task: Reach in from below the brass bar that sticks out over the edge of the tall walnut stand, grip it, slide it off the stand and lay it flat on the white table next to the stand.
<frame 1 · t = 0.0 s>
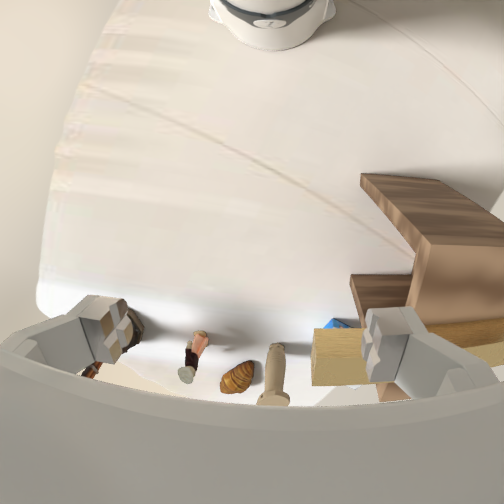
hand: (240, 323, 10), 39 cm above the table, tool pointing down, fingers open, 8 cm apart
walnut stand: (394, 233, 48), on the table
handle: (276, 346, 62), on the table
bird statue: (119, 313, 63), on the table
brass bar: (426, 338, 25), point 26 cm above the table, touching walnut stand
croissant: (237, 373, 67), on the table
grandmother figurine: (201, 335, 62), on the table
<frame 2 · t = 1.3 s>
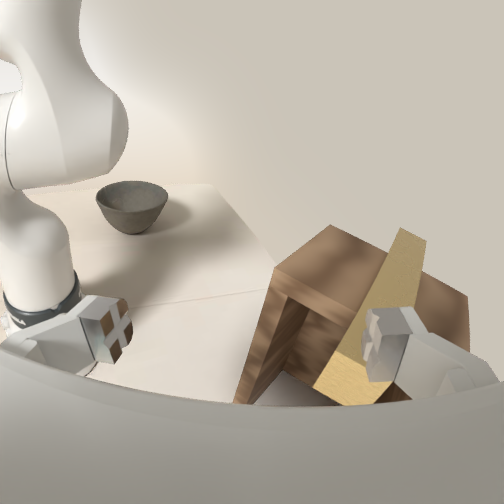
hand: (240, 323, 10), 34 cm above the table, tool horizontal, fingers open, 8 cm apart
walnut stand: (309, 414, 42), on the table
brass bar: (382, 308, 25), point 26 cm above the table, touching walnut stand
bowl: (130, 229, 76), on the table
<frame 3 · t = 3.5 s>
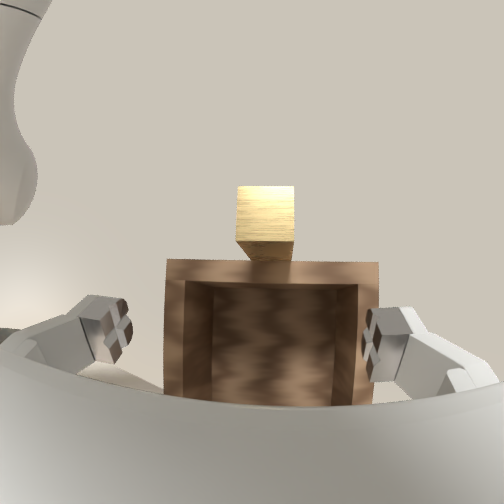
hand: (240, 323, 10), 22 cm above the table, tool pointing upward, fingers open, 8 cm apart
walnut stand: (265, 473, 30), on the table
brass bar: (272, 264, 30), point 26 cm above the table, touching walnut stand
bowl: (15, 374, 51), on the table
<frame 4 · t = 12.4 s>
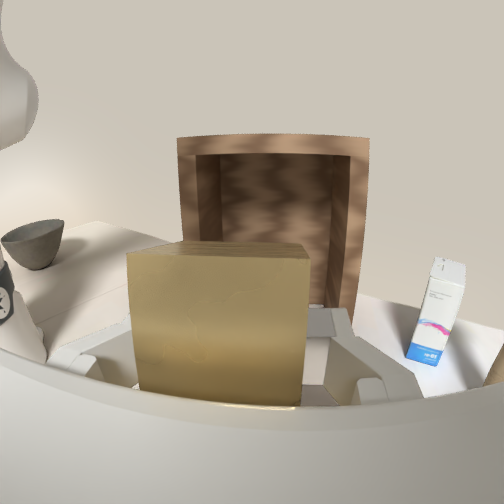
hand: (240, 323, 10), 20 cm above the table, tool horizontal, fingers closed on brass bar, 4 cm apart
walnut stand: (273, 319, 45), on the table
handle: (484, 407, 23), on the table
ink box: (426, 347, 36), on the table
bowl: (39, 267, 64), on the table
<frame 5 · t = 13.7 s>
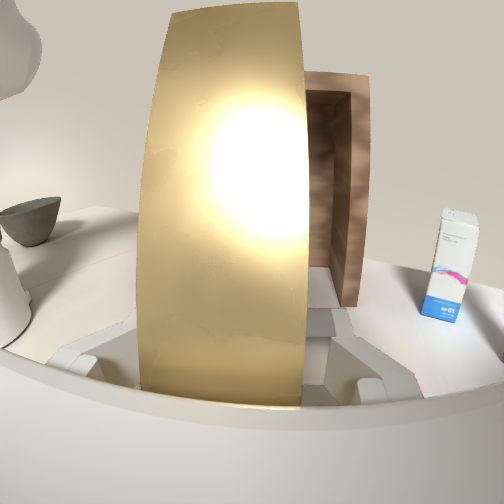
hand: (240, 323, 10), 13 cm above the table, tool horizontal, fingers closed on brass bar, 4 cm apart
walnut stand: (275, 280, 42), on the table
ink box: (441, 306, 33), on the table
brass bar: (217, 450, 6), point 12 cm above the table, tilted 112°, touching gripper
bowl: (34, 244, 62), on the table
when the fingers open (13 cm above the table, at t = 13.8 s): brass bar drops 9 cm and tips over, point 3 cm above the table.
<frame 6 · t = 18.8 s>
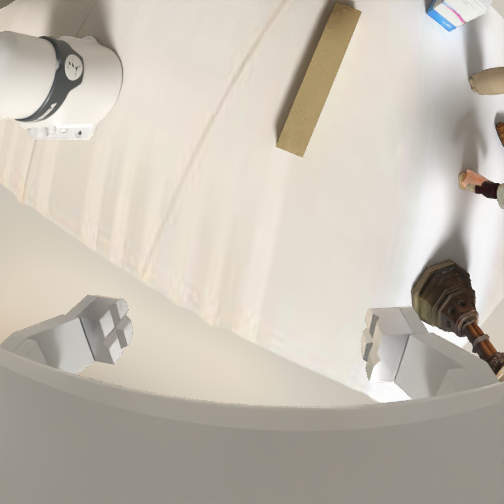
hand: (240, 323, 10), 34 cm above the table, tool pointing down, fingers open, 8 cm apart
handle: (475, 85, 32), on the table
ink box: (445, 9, 28), on the table
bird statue: (427, 290, 45), on the table
brass bar: (321, 72, 32), point 3 cm above the table, tilted 180°
grandmother figurine: (465, 180, 37), on the table
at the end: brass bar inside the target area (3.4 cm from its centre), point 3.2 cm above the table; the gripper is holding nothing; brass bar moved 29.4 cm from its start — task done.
